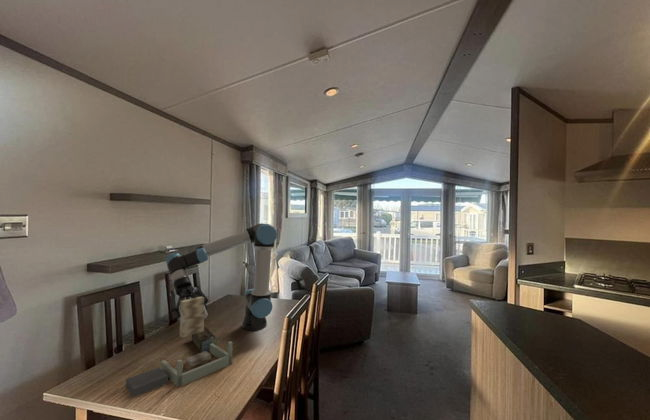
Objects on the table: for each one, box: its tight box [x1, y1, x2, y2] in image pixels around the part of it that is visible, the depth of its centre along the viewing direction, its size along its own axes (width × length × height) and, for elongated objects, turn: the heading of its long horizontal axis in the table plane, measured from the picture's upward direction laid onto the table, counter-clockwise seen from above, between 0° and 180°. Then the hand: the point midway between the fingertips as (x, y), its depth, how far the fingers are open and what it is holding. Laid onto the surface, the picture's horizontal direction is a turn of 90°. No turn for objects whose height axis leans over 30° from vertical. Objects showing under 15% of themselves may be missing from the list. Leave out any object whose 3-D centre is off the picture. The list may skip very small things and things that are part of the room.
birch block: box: [179, 296, 205, 338], centre depth 132 cm, size 10×3×16 cm, turn 139°
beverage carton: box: [191, 326, 218, 353], centre depth 150 cm, size 8×19×7 cm, turn 39°
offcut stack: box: [182, 351, 212, 373], centre depth 125 cm, size 11×6×6 cm, turn 139°
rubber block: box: [125, 366, 169, 398], centre depth 114 cm, size 12×10×3 cm
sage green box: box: [160, 341, 233, 388], centre depth 128 cm, size 24×18×10 cm
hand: (195, 319), depth 130 cm, fingers closed on birch block, 10 cm apart
